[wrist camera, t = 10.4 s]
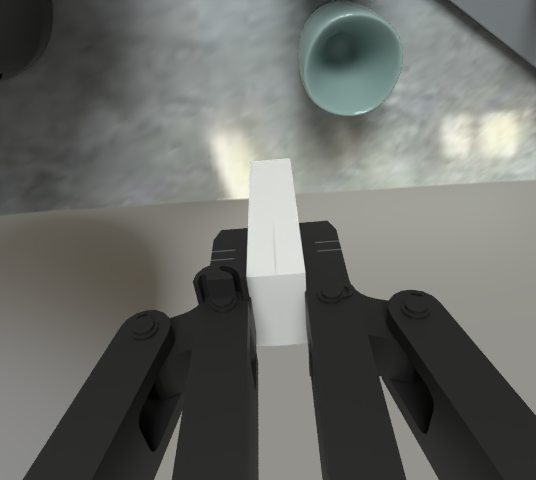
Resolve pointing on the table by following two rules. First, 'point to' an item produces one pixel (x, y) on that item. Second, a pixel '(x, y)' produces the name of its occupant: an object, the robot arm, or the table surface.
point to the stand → (506, 23)
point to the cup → (348, 58)
